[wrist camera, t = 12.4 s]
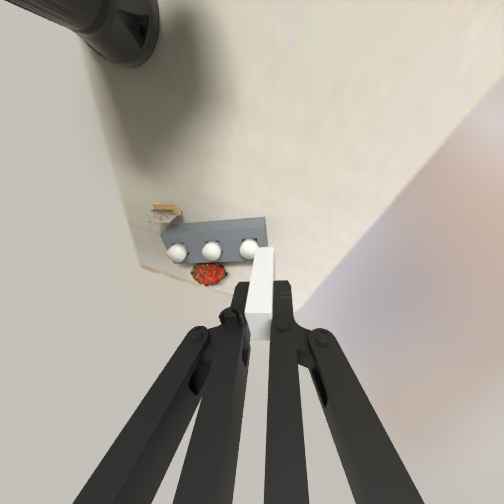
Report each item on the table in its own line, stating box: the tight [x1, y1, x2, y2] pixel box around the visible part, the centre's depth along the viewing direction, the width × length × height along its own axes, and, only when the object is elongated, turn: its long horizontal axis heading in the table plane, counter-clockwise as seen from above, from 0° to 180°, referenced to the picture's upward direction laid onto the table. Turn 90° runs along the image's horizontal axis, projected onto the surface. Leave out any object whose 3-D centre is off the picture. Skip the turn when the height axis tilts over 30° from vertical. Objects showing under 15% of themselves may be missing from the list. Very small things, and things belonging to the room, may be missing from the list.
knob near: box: [240, 238, 259, 259], centre depth 48 cm, size 5×5×8 cm
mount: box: [160, 217, 268, 264], centre depth 51 cm, size 10×28×6 cm, turn 98°
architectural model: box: [149, 203, 181, 223], centre depth 47 cm, size 3×7×7 cm, turn 92°
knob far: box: [167, 243, 188, 262], centre depth 51 cm, size 5×5×8 cm
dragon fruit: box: [191, 262, 228, 286], centre depth 58 cm, size 8×8×12 cm
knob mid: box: [202, 241, 222, 261], centre depth 49 cm, size 5×5×8 cm
